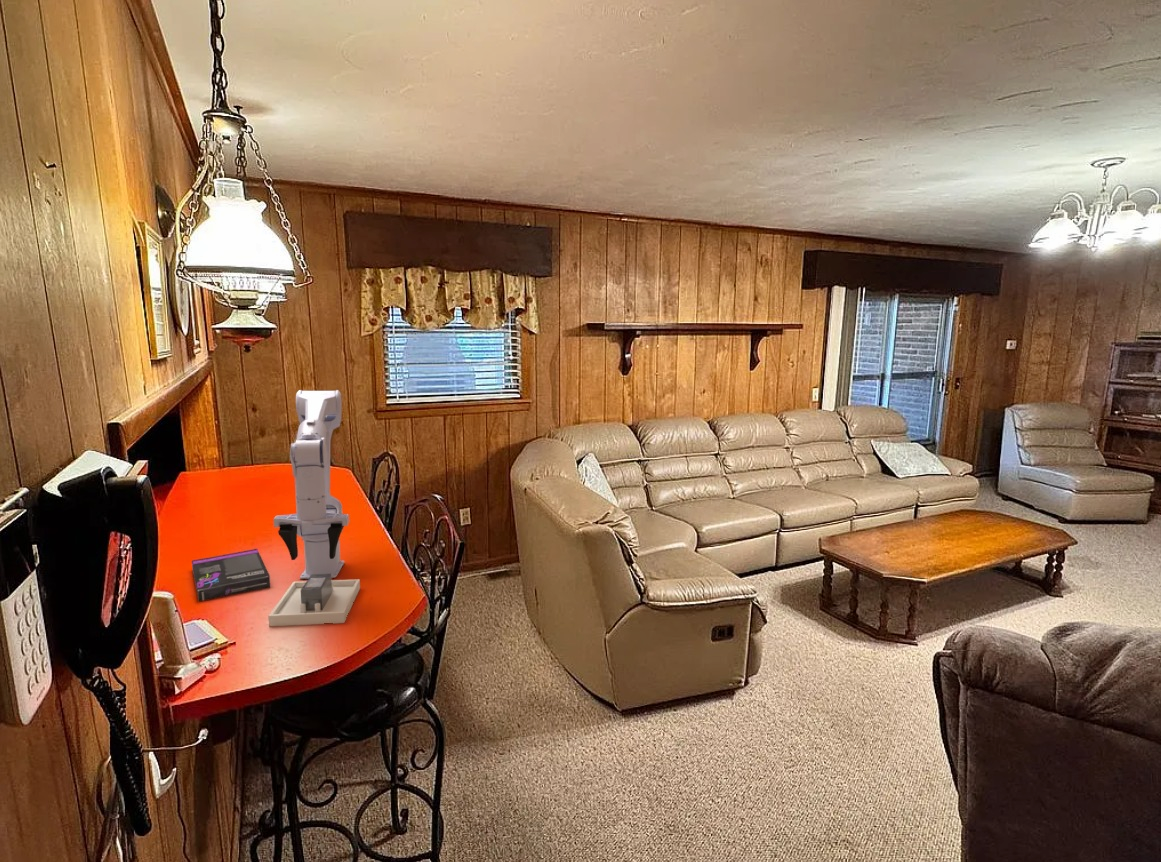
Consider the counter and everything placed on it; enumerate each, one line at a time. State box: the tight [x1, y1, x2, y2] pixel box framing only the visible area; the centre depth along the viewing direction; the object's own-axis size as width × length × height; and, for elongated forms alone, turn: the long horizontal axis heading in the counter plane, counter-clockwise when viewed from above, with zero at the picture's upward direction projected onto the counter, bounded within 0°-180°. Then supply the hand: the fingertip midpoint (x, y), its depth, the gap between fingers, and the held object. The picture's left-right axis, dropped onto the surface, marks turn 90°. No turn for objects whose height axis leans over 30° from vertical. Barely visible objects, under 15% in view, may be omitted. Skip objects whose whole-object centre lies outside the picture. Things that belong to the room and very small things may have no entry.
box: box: [191, 548, 271, 602], centre depth 139 cm, size 14×4×20 cm
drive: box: [301, 574, 332, 611], centre depth 126 cm, size 8×4×5 cm, turn 9°
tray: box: [268, 578, 361, 627], centre depth 127 cm, size 16×14×3 cm
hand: (313, 557), depth 129 cm, fingers open, 7 cm apart
